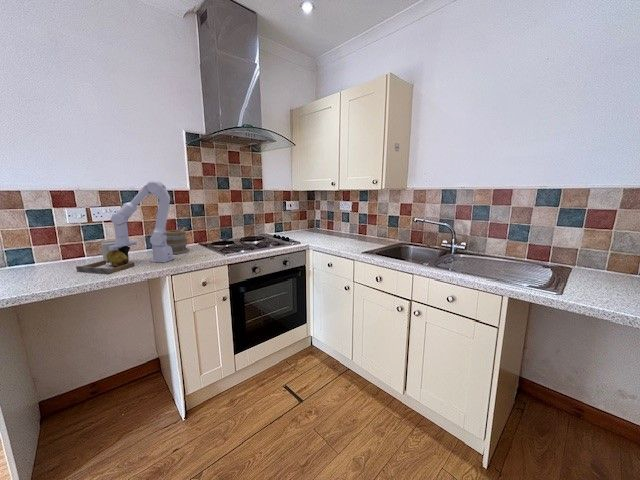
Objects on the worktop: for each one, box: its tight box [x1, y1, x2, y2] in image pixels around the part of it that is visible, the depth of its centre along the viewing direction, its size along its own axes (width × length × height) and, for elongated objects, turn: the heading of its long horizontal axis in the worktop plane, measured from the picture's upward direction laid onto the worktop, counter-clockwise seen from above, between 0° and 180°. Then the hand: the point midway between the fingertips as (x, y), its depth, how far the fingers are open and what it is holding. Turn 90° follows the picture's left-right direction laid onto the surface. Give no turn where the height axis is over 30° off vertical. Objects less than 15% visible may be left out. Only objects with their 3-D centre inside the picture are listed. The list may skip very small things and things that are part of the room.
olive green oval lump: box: [107, 250, 130, 267], centre depth 140 cm, size 8×13×8 cm, turn 43°
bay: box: [75, 260, 136, 275], centre depth 136 cm, size 20×14×2 cm, turn 77°
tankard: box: [165, 226, 189, 256], centre depth 172 cm, size 20×13×15 cm, turn 173°
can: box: [100, 238, 118, 263], centre depth 150 cm, size 8×8×12 cm
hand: (125, 260), depth 146 cm, fingers closed
